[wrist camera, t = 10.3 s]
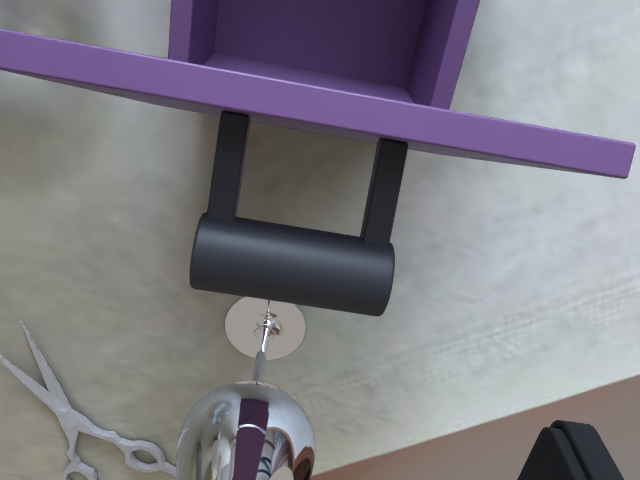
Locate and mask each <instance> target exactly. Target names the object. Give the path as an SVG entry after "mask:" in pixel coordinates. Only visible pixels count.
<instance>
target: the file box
mask: <svg viewBox="0 0 640 480" xmlns="http://www.w3.org/2000/svg"><path fill="white" fill-rule="evenodd" d="M479 1H480V0H171V16H170V33H169V50H168V59H171V60H176V61H182V62H187V63H193V64H198V65H204V66H209V67H215V68H220V69H226V70H231V71H237V72H243V73H248V74H254V75H259V76H265V77H270V78H276V79H281V80H287V81H292V82H298V83H303V84H309V85H314V86H320V87H325V88H331V89H337V90H342V91H348V92H353V93H359V94H364V95H370V96H375V97H381V98H386V99H392V100H397V101H403V102H408V103H414V104H419V105H425V106H431V107H436V108H442V109H447V110H449V108H450V105H451V101H452V97H453V94H454V90H455V87H456V83H457V80H458V76H459V73H460V69H461V65H462V62H463V58H464V55H465V51H466V48H467V44H468V40H469V37H470V33H471V30H472V26H473V23H474V19H475V16H476V12H477V8H478V5H479Z"/></svg>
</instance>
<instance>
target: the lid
mask: <svg viewBox="0 0 640 480" xmlns="http://www.w3.org/2000/svg"><path fill="white" fill-rule="evenodd" d="M0 70H3V71H8V72H12V73H17V74H21V75H26V76H30V77H35V78H39V79H44V80H48V81H53V82H57V83H62V84H66V85H71V86H75V87H79V88H84V89H88V90H93V91H97V92H102V93H106V94H111V95H115V96H120V97H124V98H129V99H133V100H138V101H142V102H147V103H151V104H156V105H160V106H165V107H171V108H176V109H182V110H188V111H193V112H199V113H205V114H211V115H216V116H220V123H219V130H218V137H217V145H216V152H215V159H214V166H213V173H212V180H211V188H210V195H209V202H208V209H207V212H206V213H203V214H202V216H201V218H200V220H199V223H198V226H197V230H196V234H195V238H194V243H193V249H192V255H191V263H190V285H191V287H192V288H194V289H199V290H205V291H212V292H218V293H225V294H232V295H238V296H245V297H252V298H258V299H265V300H271V301H278V302H285V303H291V304H298V305H305V306H311V307H318V308H324V309H331V310H338V311H344V312H351V313H358V314H364V315H371V316H381V315H382V314H383V313H384V311H385V309H386V307H387V304H388V301H389V298H390V294H391V290H392V284H393V278H394V268H395V253H394V248H393V245H392V243H390V238H391V232H392V227H393V222H394V217H395V212H396V207H397V201H398V196H399V191H400V186H401V181H402V176H403V171H404V165H405V160H406V155H407V150H408V149H411V150H417V151H423V152H428V153H434V154H440V155H448V156H455V157H463V158H471V159H478V160H486V161H493V162H501V163H508V164H516V165H524V166H531V167H539V168H546V169H554V170H561V171H569V172H577V173H584V174H592V175H599V176H607V177H614V178H622V179H625V178H627V177H628V174H629V170H630V166H631V162H632V159H633V155H634V151H635V147H636V145H635V144H634V143H630V142H624V141H619V140H613V139H607V138H602V137H596V136H591V135H585V134H580V133H574V132H569V131H563V130H558V129H552V128H547V127H541V126H536V125H530V124H525V123H519V122H513V121H508V120H502V119H497V118H491V117H486V116H480V115H475V114H469V113H464V112H458V111H453V110H447V109H442V108H436V107H431V106H425V105H419V104H414V103H408V102H403V101H397V100H392V99H386V98H381V97H375V96H370V95H364V94H359V93H353V92H348V91H342V90H337V89H331V88H325V87H320V86H314V85H309V84H303V83H298V82H292V81H287V80H281V79H276V78H270V77H265V76H259V75H254V74H248V73H243V72H237V71H231V70H226V69H220V68H215V67H209V66H204V65H198V64H193V63H187V62H182V61H176V60H171V59H165V58H160V57H154V56H149V55H143V54H137V53H132V52H126V51H121V50H115V49H110V48H104V47H99V46H93V45H88V44H82V43H77V42H71V41H66V40H60V39H55V38H49V37H43V36H38V35H32V34H27V33H21V32H16V31H10V30H5V29H0ZM250 121H251V122H257V123H262V124H268V125H274V126H279V127H285V128H291V129H297V130H302V131H308V132H314V133H320V134H325V135H331V136H337V137H342V138H348V139H354V140H360V141H365V142H371V143H377V148H376V153H375V159H374V164H373V169H372V175H371V180H370V186H369V191H368V196H367V202H366V207H365V213H364V218H363V223H362V229H361V234H360V237H357V236H351V235H345V234H338V233H332V232H326V231H320V230H314V229H307V228H301V227H295V226H289V225H283V224H277V223H270V222H264V221H258V220H252V219H246V218H239V217H236V216H237V209H238V202H239V195H240V189H241V182H242V175H243V168H244V162H245V155H246V148H247V141H248V134H249V128H250Z"/></svg>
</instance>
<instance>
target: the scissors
mask: <svg viewBox="0 0 640 480" xmlns="http://www.w3.org/2000/svg"><path fill="white" fill-rule="evenodd" d="M20 322H21V321H20ZM21 325H22V327H23V330H24V332H25V335H26V337H27V340H28V342H29V345H30V347H31V350H32V352H33V355H34V357H35V359H36V362H37V364H38V366H39V368H40V371H41V373H42V376H43V379H44V381H45V384H46V387H47V388H48V390H49V391H48V390H46V389H45V388H44V387H42V386H41V385H40V384H38V383H37V382H36V381H34V380H33V379H32V378H31V377H29V376H28V375H27V374H25V373H24V372H23V371H21V370H20V369H19V368H17V367H16V366H14V365H13V364H12V363H10V362H9V361H8V360H6V359H5V358H4V357H2V356H1V355H0V361H1V362H2V363H3V364H4V365H5V366H6V367H7V368H8V369H9V370H10V371H11V372H12V373H13V374H14V375H15V376H16V377H17V378H18V379H19V380H20V381H22V382H23V383H24V384H25V385H26V386H27V387H28V388H29V389H30V390H31V391H32V392H33V393H34V394H35V395H36V396H37V397H39V398H40V399H41V400H42V401H43V402H44V403H45V404H46V405H47V406H48V407H49V408H51V409H52V410H53V411H54V412H55V413H56V414H57V417H58V420H59V422H60V424H61V426H62V428H63V430H64V432H65V434H66V437H67V439H68V441H69V443H70V445H69V448H68V450H67V452H66V454H67V455H68V457H69V459H70V460H71V462H70V463H69V464H68V465H67V466H66V467H65V469H64V472H63V474H62V479H61V480H70V479H69V478H68V474H69V473H71V472H79V473H81V474H83V475H85V477H86V478H87V480H98V478H97V473H96V471H95V468H92V467H90V466H88V465H86V464H84V463H82V462H81V459H80V458H79V456H78V455H77V453H76V443H77V438H78V435H79V433H80V432H83V433H86V434H89V435H92V436H95V437H98V438H102V439H105V440H107V441H110V442H111V443H113V444H115V445H117V446H118V447H119V448H120V450H121V451H122V452H123V453H124V455H125V464H126V465H128V466H129V467H131V468H132V469H135V470H137V471H140V472H145V473H153V472H156V471H162V472H165V473H168V474H170V475H172V476H173V477H175V478H176V467H175V466H173V465H171V464H169V463H167V462H165V456H164V454H163V451H162V450H161V449H160V448H159V447H158V446H157V445H156V444H153V443H151V442H147V441H141V440H136V441H131V440H127V439H124V438H121V437H120V436H119V435H118V434H117V433H116V432H115V431H106V430H103V429H100V428H97V427H96V426H95V425H94V424H93V423H92V422H91V421H90V420H88V419H87V418H86V417H85V416H84V415H82V414H81V413H79V412H77V411H75V410H74V409H72V407H71V405H70V403H69V402H68V400H67V398H66V396H65V394H64V392H63V390H62V388H61V387H60V385H59V383H58V381H57V379H56V377H55V376H54V374H53V372H52V370H51V369H50V367H49V365H48V364H47V362H46V361H45V359H44V357H43V356H42V354H41V352H40V351H39V349H38V347H37V345H36V344H35V342H34V340H33V339H32V337H31V335H30V334H29V332H28V331H27V330H26V328H25V327H24V325H23V324H22V322H21ZM136 450H143V451H147V452H149V453H151V454H152V455H153V456H154V457H155V458H156V460H157V462H156V463H152V464H146V463H143V462H141V461H139V460H138V459H137V458H136V457H135V456H134V454H133V453H132V452H133V451H136Z"/></svg>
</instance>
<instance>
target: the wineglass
mask: <svg viewBox="0 0 640 480" xmlns="http://www.w3.org/2000/svg"><path fill="white" fill-rule="evenodd" d="M225 331H226V334H227V337H228V339H229V341H230V342H231V344H232V345H233V346H234V347H235V348H236V349H237V350H238V351H240V352H241V353H243V354H245V355H247V356H249V357H252V358H255V362H254V368H253V374H252V380H246V381H237V382H232V383H228V384H226V385H223V386H220V387H218V388H216V389H214V390H213V391H211V392H209V393H208V394H206V395H205V396H204V397H203V398H201V399H200V400H199V401H198V402H197V403H196V404H195V405H194V406H193V408H192V409H191V410H190V412H189V413H188V415H187V416H186V418H185V420H184V422H183V424H182V427H181V430H180V433H179V438H178V443H177V454H176V479H177V480H310V478H311V474H312V470H313V466H314V461H315V453H316V442H315V435H314V430H313V427H312V424H311V422H310V420H309V418H308V416H307V414H306V412H305V411H304V409H303V408H302V407H301V405H300V404H299V403H298V402H297V401H296V400H295V399H294V398H293V397H292V396H291V395H289V394H288V393H287V392H285V391H284V390H282V389H280V388H278V387H276V386H274V385H271V384H268V383H265V382H263V377H264V369H265V361H266V360H274V359H279V358H282V357H285V356H287V355H289V354H291V353H292V352H294V351H295V350H296V349H297V348H298V347H299V346H300V344H301V343H302V341H303V339H304V337H305V333H306V322H305V318H304V315H303V313H302V312H301V310H300V309H299V307H298V306H297V305H296V304H291V303H285V302H278V301H271V300H265V299H258V298H252V297H245V296H244V297H242V298H240V299H239V300H237V301H236V302H235V303H234V304H233V305H232V306H231V308H230V309H229V311H228V313H227V315H226V319H225Z"/></svg>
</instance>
